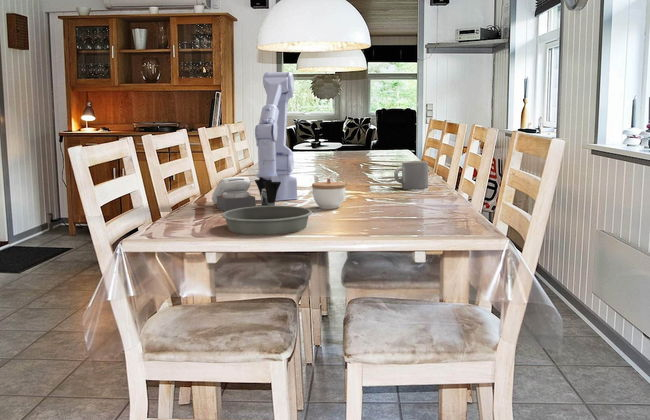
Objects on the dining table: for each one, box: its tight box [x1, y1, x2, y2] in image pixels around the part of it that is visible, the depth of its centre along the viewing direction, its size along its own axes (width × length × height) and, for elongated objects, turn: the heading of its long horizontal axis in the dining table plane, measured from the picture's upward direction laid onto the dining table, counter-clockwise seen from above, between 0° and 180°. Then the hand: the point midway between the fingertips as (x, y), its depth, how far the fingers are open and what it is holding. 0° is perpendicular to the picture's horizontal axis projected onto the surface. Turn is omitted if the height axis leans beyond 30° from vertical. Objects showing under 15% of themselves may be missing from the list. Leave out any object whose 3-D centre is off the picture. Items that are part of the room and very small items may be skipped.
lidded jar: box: [311, 177, 347, 210], centre depth 228 cm, size 11×11×9 cm
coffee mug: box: [393, 160, 429, 190], centre depth 275 cm, size 13×10×10 cm
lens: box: [260, 188, 276, 206], centre depth 233 cm, size 4×4×6 cm
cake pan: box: [221, 205, 313, 235], centre depth 195 cm, size 25×25×4 cm
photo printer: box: [211, 176, 251, 205], centre depth 235 cm, size 10×4×12 cm
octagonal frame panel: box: [216, 190, 256, 212], centre depth 229 cm, size 10×9×5 cm
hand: (268, 201), depth 234 cm, fingers open, 6 cm apart
